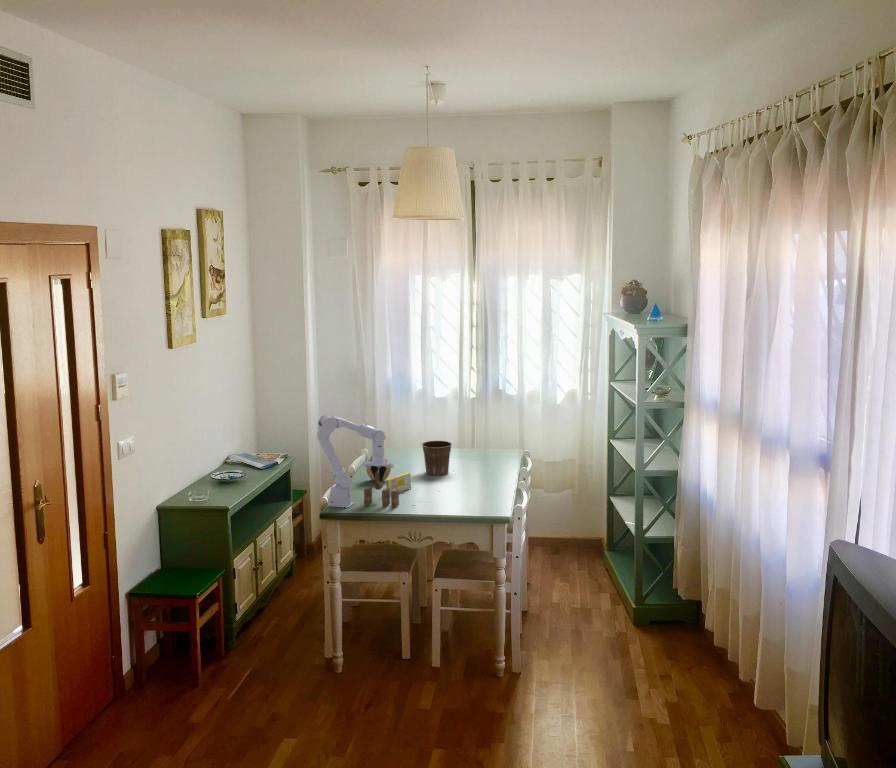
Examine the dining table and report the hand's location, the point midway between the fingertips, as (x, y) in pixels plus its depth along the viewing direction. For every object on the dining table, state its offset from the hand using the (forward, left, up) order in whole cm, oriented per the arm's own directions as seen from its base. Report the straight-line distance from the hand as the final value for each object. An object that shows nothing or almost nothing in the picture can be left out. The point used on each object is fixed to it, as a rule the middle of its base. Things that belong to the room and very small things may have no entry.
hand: (379, 481), depth 413 cm
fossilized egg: (-13, +34, -10) cm, 38 cm away
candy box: (+4, +17, -10) cm, 20 cm away
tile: (0, 0, -3) cm, 3 cm away
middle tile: (+6, -7, -10) cm, 13 cm away
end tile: (-3, -7, -10) cm, 12 cm away
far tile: (+10, -7, -10) cm, 16 cm away
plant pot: (+12, +57, -10) cm, 59 cm away
